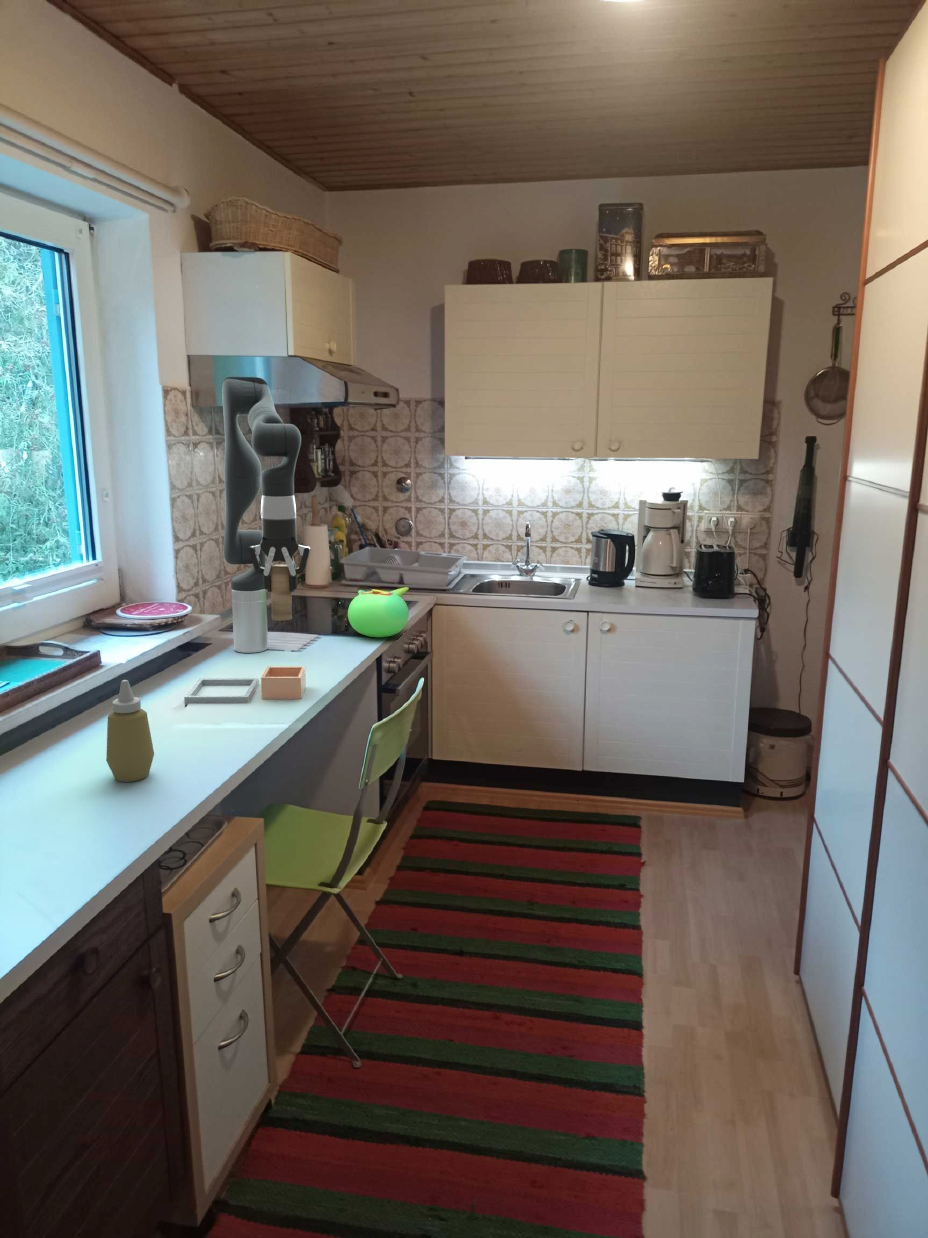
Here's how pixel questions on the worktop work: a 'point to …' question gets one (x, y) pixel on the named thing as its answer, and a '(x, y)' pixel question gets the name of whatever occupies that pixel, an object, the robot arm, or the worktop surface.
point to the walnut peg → (280, 593)
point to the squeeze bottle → (128, 738)
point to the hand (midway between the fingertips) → (281, 591)
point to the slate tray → (246, 698)
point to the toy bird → (378, 612)
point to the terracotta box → (283, 683)
